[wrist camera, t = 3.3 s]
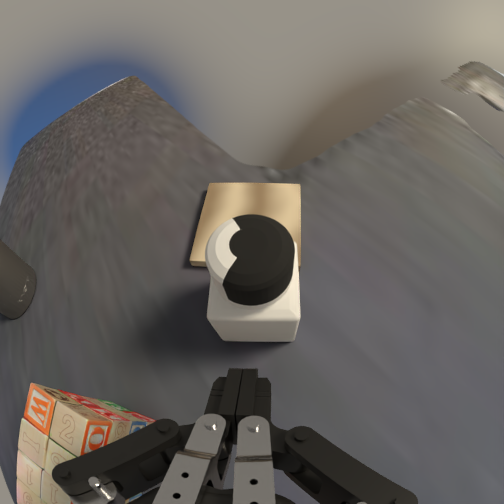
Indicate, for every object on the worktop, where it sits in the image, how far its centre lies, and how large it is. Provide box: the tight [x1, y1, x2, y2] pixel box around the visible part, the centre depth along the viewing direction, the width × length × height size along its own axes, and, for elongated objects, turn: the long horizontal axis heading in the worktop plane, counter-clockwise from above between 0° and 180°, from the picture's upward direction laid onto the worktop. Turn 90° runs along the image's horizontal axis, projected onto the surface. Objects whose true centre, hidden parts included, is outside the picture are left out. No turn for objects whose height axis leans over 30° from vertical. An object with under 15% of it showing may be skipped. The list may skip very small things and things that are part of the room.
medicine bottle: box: [205, 214, 300, 342], centre depth 23 cm, size 7×7×12 cm
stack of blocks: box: [17, 383, 156, 504], centre depth 13 cm, size 21×6×12 cm, turn 168°
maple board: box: [190, 183, 301, 271], centre depth 33 cm, size 12×12×1 cm
